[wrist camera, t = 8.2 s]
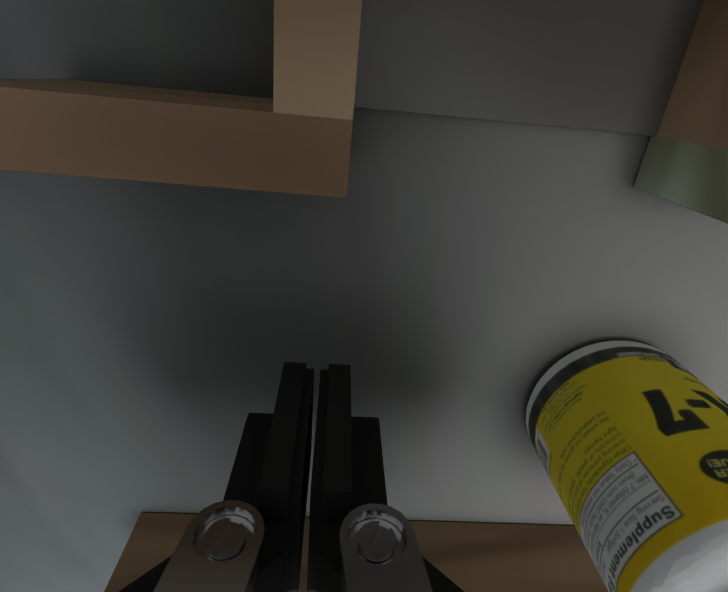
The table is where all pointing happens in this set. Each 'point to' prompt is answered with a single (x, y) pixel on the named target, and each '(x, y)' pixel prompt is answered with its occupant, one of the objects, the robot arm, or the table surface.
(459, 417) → the table surface
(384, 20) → the zigzag wooden rail
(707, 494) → the supplement bottle
